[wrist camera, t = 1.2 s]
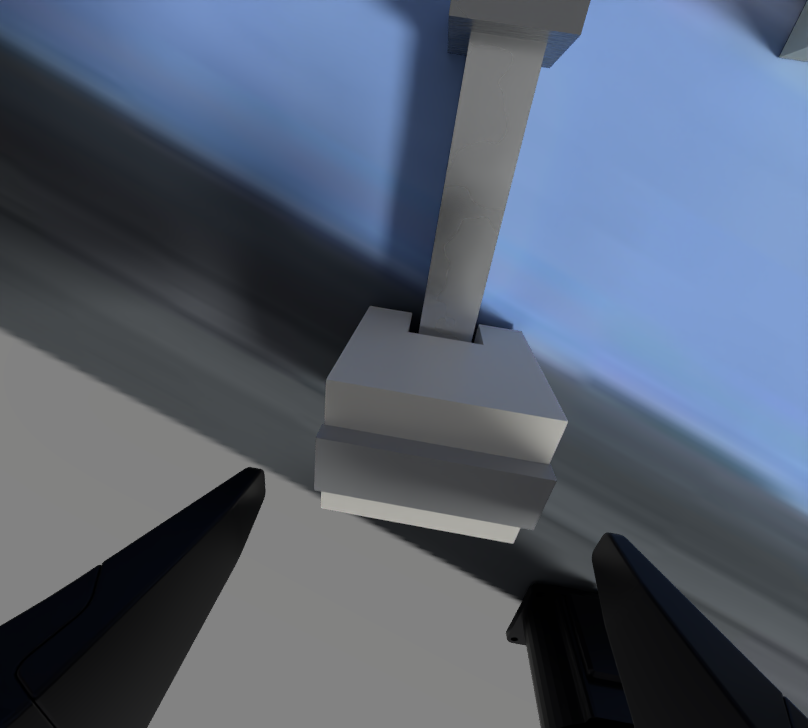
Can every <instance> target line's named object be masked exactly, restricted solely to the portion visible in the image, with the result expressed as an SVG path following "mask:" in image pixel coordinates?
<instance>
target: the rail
mask: <svg viewBox="0 0 808 728" xmlns="http://www.w3.org/2000/svg"><path fill="white" fill-rule="evenodd" d="M589 4H590V0H451V4H450V10H449V24H448V53H454V54H460V55H467V57H466V63H465V68H464V74H463V80H462V86H461V91H460V97H459V103H458V109H457V114H456V120H455V126H454V132H453V137H452V143H451V149H450V155H449V160H448V166H447V172H446V178H445V183H444V189H443V195H442V201H441V206H440V212H439V218H438V224H437V230H436V235H435V241H434V247H433V253H432V258H431V264H430V270H429V276H428V281H427V287H426V293H425V299H424V304H423V310H422V316H421V322H420V327H419V333H418V334H423V335H429V336H434V337H440V338H446V339H452V340H458V341H464V342H470V343H471V341H472V337H473V333H474V329H475V325H476V321H477V317H478V313H479V309H480V305H481V301H482V297H483V294H484V290H485V286H486V282H487V278H488V274H489V270H490V266H491V262H492V258H493V254H494V250H495V246H496V242H497V238H498V234H499V230H500V227H501V223H502V219H503V215H504V211H505V207H506V203H507V199H508V195H509V191H510V187H511V183H512V179H513V175H514V171H515V167H516V163H517V160H518V156H519V152H520V148H521V144H522V140H523V136H524V132H525V128H526V124H527V120H528V116H529V112H530V108H531V104H532V100H533V96H534V93H535V89H536V85H537V81H538V77H539V73H540V69H541V67H546V68H550V67H551V66H552V65H553V64H554V63H555V62H556V61H557V60H558V59H559V58H560V56H561V55H562V54H563V53H564V52H565V51H566V50H567V49H568V48H569V47H570V46H571V45H572V44H573V43H574V42H575V40H576V39H577V38H578V37H579V36H580V35H581V32H582V28H583V25H584V21H585V18H586V14H587V11H588V7H589Z"/></svg>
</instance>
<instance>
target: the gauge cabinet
mask: <svg viewBox="0 0 808 728" xmlns="http://www.w3.org/2000/svg"><path fill="white" fill-rule="evenodd" d="M779 58H785V59H792V60H799V61H805V62H808V0H807V2H806V4H805V6H804V8H803V10H802V12H801V14H800V16H799V18H798V20H797V22H796V24H795V26H794V28H793V30H792V32H791V34H790V36H789V38H788V40H787V42H786V44H785V46H784V48H783V50H782V52H781V55H780V57H779Z"/></svg>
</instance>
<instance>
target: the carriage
mask: <svg viewBox="0 0 808 728" xmlns="http://www.w3.org/2000/svg"><path fill="white" fill-rule="evenodd" d="M411 318H412V313H410V312H404V311H398V310H392V309H386V308H380V307H374V306H369V308H368V310H367V311H366V313H365V315H364V317H363V318H362V320H361V322H360V323H359V325H358V327H357V328H356V330H355V332H354V333H353V335H352V337H351V338H350V340H349V342H348V343H347V345H346V347H345V349H344V350H343V352H342V354H341V355H340V357H339V359H338V360H337V362H336V364H335V365H334V367H333V369H332V370H331V372H330V374H329V375H328V377H327V379H326V396H325V419H324V424H322V426H321V428H320V430H319V432H318V434H317V436H316V446H315V482H314V490H316V491H321V509H327V510H332V511H338V512H343V513H348V514H354V515H359V516H365V517H370V518H376V519H381V520H386V521H392V522H397V523H403V524H408V525H414V526H419V527H425V528H430V529H435V530H441V531H446V532H452V533H457V534H463V535H468V536H474V537H479V538H484V539H490V540H495V541H501V542H506V543H512V544H513V543H514V541H515V539H516V537H517V534H518V532H519V530H520V528H524V529H529V530H534V528H535V525H536V523H537V521H538V519H539V517H540V515H541V513H542V511H543V509H544V507H545V505H546V502H547V500H548V498H549V496H550V494H551V492H552V490H553V488H554V486H555V484H556V482H557V480H556V477H555V475H554V472H553V469H552V467H551V465H550V464H549V463H550V461H551V459H552V457H553V454H554V452H555V450H556V448H557V445H558V443H559V441H560V439H561V437H562V434H563V432H564V430H565V428H566V425H567V423H568V420H567V418H566V416H565V414H564V412H563V411H562V409H561V407H560V405H559V403H558V401H557V399H556V397H555V395H554V393H553V391H552V389H551V387H550V385H549V383H548V381H547V379H546V378H545V376H544V374H543V372H542V370H541V368H540V366H539V364H538V362H537V360H536V358H535V356H534V354H533V352H532V350H531V348H530V346H529V345H528V343H527V341H526V339H525V337H524V335H523V333H522V331H516V330H510V329H505V328H499V327H493V326H487V325H481V324H479V325H478V329H477V333H476V337H475V340H474V343H470V342H464V341H458V340H452V339H446V338H440V337H434V336H429V335H423V334H417V333H411V332H409V330H410V324H411Z"/></svg>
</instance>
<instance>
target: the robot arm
mask: <svg viewBox="0 0 808 728" xmlns="http://www.w3.org/2000/svg"><path fill="white" fill-rule="evenodd" d="M264 497H265V476H264V471H263V470H262V469H258V468H252V467H248V468H245V469H244V470H243V471H241V472H239V473H238V474H236V475H235V476H233V477H232V478H230V479H229V480H227V481H226V482H224V483H223V484H221V485H219V486H218V487H216V488H215V489H213V490H212V491H210V492H209V493H207V494H206V495H204V496H203V497H201V498H200V499H198V500H197V501H195V502H194V503H192V504H191V505H189V506H188V507H186V508H184V509H183V510H181V511H180V512H178V513H177V514H175V515H174V516H172V517H171V518H169V519H168V520H166V521H165V522H163V523H162V524H160V525H159V526H157V527H156V528H154V529H153V530H151V531H150V532H148V533H147V534H145V535H143V536H142V537H140V538H139V539H137V540H136V541H134V542H133V543H131V544H130V545H128V546H127V547H125V548H124V549H122V550H121V551H119V552H118V553H116V554H115V555H113V556H112V557H110V558H109V559H107V560H106V561H104V562H103V563H102V565H98V566H96V567H95V568H93V569H92V570H90V571H89V572H87V573H86V574H84V575H83V576H81V577H80V578H78V579H76V580H75V581H74V582H72V583H70V584H69V585H67V586H66V587H64V588H62V589H61V590H59V591H58V592H56V593H54V594H53V595H51V596H50V597H48V598H47V599H45V600H43V601H41V602H40V603H38V604H36V605H35V606H33V607H31V608H30V609H28V610H26V611H25V612H23V613H21V614H20V615H18V616H16V617H14V618H13V619H11V620H9V621H8V622H6V623H5V624H3V625H1V626H0V728H147V727H148V725H149V723H150V721H151V720H152V718H153V716H154V714H155V712H156V710H157V708H158V707H159V705H160V703H161V701H162V699H163V697H164V696H165V693H166V692H167V690H168V688H169V686H170V685H171V683H172V681H173V679H174V677H175V675H176V674H177V672H178V670H179V668H180V666H181V664H182V662H183V661H184V659H185V657H186V655H187V653H188V651H189V650H190V648H191V646H192V644H193V642H194V640H195V638H196V637H197V635H198V633H199V631H200V629H201V628H202V626H203V624H204V622H205V620H206V618H207V616H208V615H209V613H210V611H211V609H212V607H213V605H214V604H215V602H216V600H217V598H218V596H219V594H220V592H221V590H222V589H223V587H224V585H225V583H226V582H227V580H228V578H229V576H230V574H231V572H232V571H233V568H234V567H235V565H236V563H237V561H238V559H239V557H240V555H241V553H242V550H243V548H244V546H245V543H246V541H247V539H248V536H249V534H250V531H251V529H252V526H253V524H254V522H255V519H256V517H257V514H258V512H259V510H260V507H261V505H262V503H263V500H264ZM592 563H593V568H594V573H595V578H596V584H597V589H598V594H594V593H588V592H583V591H578V590H572V589H567V588H562V587H556V586H551V585H545V584H539V583H536V584H533V585H531V586H530V588H529V590H528V592H527V594H526V595H525V597H524V599H523V601H522V603H521V605H520V607H519V609H518V610H517V612H516V614H515V616H514V618H513V620H512V622H511V624H510V625H509V627H508V629H507V631H506V636H507V640H508V641H509V642H511V643H516V644H522V645H526V646H527V652H528V658H529V663H530V669H531V674H532V680H533V685H534V691H535V697H536V703H537V708H538V714H539V720H540V725H541V728H808V718H807V717H806V716H805V715H804V714H803V713H802V712H801V711H800V710H799V709H798V708H797V707H796V706H795V705H794V704H793V703H792V702H791V701H790V700H789V699H788V698H786V697H784V696H783V695H782V693H781V692H780V691H779V690H778V689H777V688H776V687H775V686H774V685H773V684H772V683H771V682H770V681H769V680H768V679H767V678H766V677H765V676H764V675H763V674H762V673H761V672H760V671H759V670H758V669H757V668H756V667H755V666H754V665H753V664H752V663H751V662H750V661H749V660H748V659H747V658H746V657H745V656H744V655H743V654H742V653H741V652H740V651H739V650H738V649H737V648H736V647H735V646H734V645H733V644H732V643H731V642H730V641H729V640H728V639H727V638H726V637H725V636H724V635H723V634H722V633H721V632H720V631H719V630H718V629H717V628H716V627H715V626H714V625H713V624H712V623H711V622H710V621H709V620H708V619H707V618H706V617H705V616H704V615H703V614H702V613H701V612H700V611H699V610H698V609H697V608H696V607H695V606H694V605H693V604H692V603H691V602H690V601H689V600H688V599H687V598H686V597H685V596H684V595H683V594H682V593H681V592H680V591H679V590H678V589H677V588H676V587H675V586H674V585H673V584H672V583H671V582H670V581H669V580H668V579H667V578H666V577H665V576H664V575H663V574H662V573H661V572H660V571H659V570H658V569H657V568H656V567H655V566H654V565H653V564H652V563H651V562H650V561H649V560H648V559H647V558H646V557H645V556H644V555H643V554H642V553H641V552H640V551H639V550H638V549H637V548H636V547H635V546H634V545H633V544H632V543H631V542H630V541H629V540H628V539H627V538H625V537H624V536H622V535H619V534H614V533H605V534H604V535H603V536H602V538H601V539H600V541H599V543H598V544H597V546H596V547H595V549H594V551H593V554H592Z"/></svg>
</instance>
